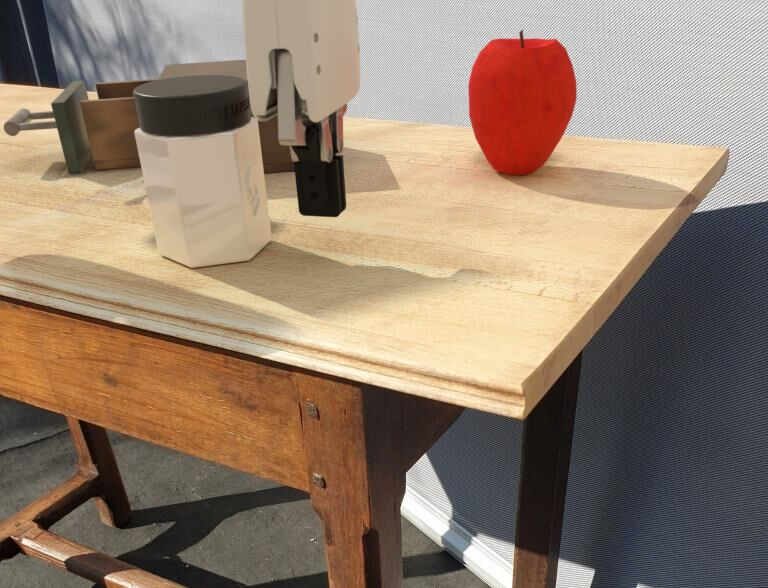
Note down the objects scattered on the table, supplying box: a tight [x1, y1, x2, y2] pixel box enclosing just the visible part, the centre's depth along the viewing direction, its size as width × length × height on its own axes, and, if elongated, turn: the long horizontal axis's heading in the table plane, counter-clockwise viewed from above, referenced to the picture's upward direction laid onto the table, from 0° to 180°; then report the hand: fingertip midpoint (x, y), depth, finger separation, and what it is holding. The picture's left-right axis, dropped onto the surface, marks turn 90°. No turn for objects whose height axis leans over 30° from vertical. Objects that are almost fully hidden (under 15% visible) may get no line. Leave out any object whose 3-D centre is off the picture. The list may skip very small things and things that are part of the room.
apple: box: [467, 29, 578, 176], centre depth 77 cm, size 10×10×12 cm
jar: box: [133, 75, 273, 269], centre depth 63 cm, size 9×8×12 cm
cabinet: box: [157, 59, 295, 174], centre depth 86 cm, size 15×13×9 cm
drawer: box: [3, 78, 158, 175], centre depth 85 cm, size 19×11×7 cm, turn 97°
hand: (323, 212), depth 62 cm, fingers closed
